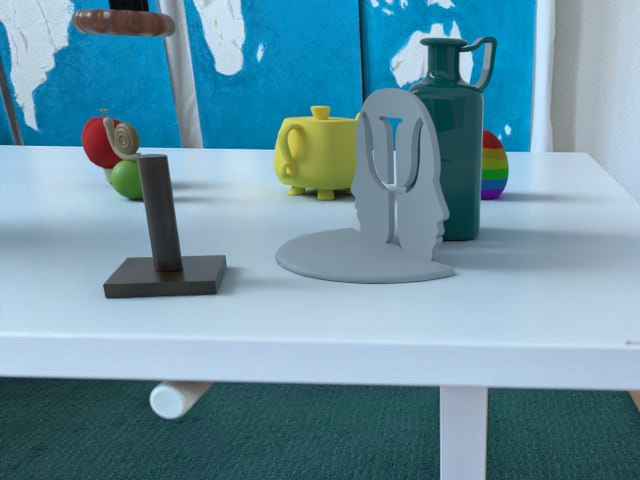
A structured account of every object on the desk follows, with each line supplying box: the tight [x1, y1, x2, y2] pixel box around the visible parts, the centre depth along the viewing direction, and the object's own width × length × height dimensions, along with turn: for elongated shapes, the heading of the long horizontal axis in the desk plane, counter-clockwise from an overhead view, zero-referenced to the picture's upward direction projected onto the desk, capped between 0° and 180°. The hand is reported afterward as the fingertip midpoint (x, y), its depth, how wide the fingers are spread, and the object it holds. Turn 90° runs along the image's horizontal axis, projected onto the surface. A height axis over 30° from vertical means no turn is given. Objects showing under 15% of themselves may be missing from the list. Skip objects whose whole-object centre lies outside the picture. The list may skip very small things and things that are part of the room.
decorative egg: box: [481, 129, 510, 200], centre depth 109 cm, size 8×8×10 cm
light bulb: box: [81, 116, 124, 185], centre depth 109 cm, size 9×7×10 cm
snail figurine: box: [99, 108, 144, 200], centre depth 98 cm, size 5×6×12 cm
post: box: [102, 153, 228, 299], centre depth 63 cm, size 9×9×11 cm
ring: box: [71, 8, 177, 38], centre depth 74 cm, size 10×10×2 cm
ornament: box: [275, 87, 455, 284], centre depth 70 cm, size 22×13×17 cm, turn 38°
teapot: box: [273, 105, 360, 201], centre depth 108 cm, size 14×20×13 cm
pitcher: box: [405, 36, 498, 241], centre depth 82 cm, size 10×8×22 cm
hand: (133, 34), depth 77 cm, fingers closed on ring, 2 cm apart
